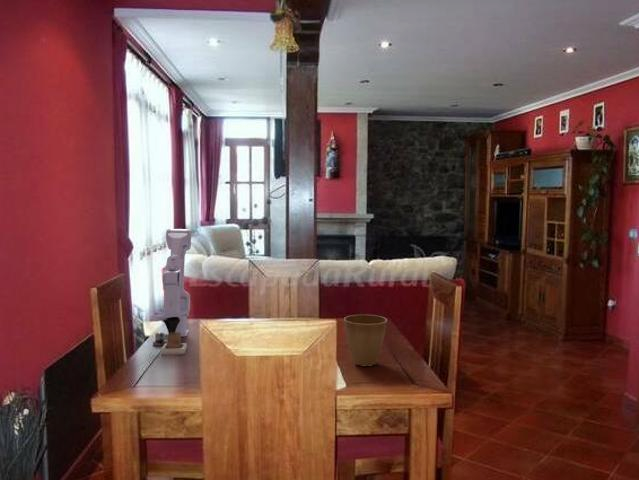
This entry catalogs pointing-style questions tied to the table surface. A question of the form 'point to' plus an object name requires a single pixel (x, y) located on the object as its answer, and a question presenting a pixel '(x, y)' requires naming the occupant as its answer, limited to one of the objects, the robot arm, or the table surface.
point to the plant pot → (365, 337)
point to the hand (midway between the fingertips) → (171, 337)
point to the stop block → (174, 340)
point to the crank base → (160, 343)
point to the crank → (160, 337)
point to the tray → (173, 350)
